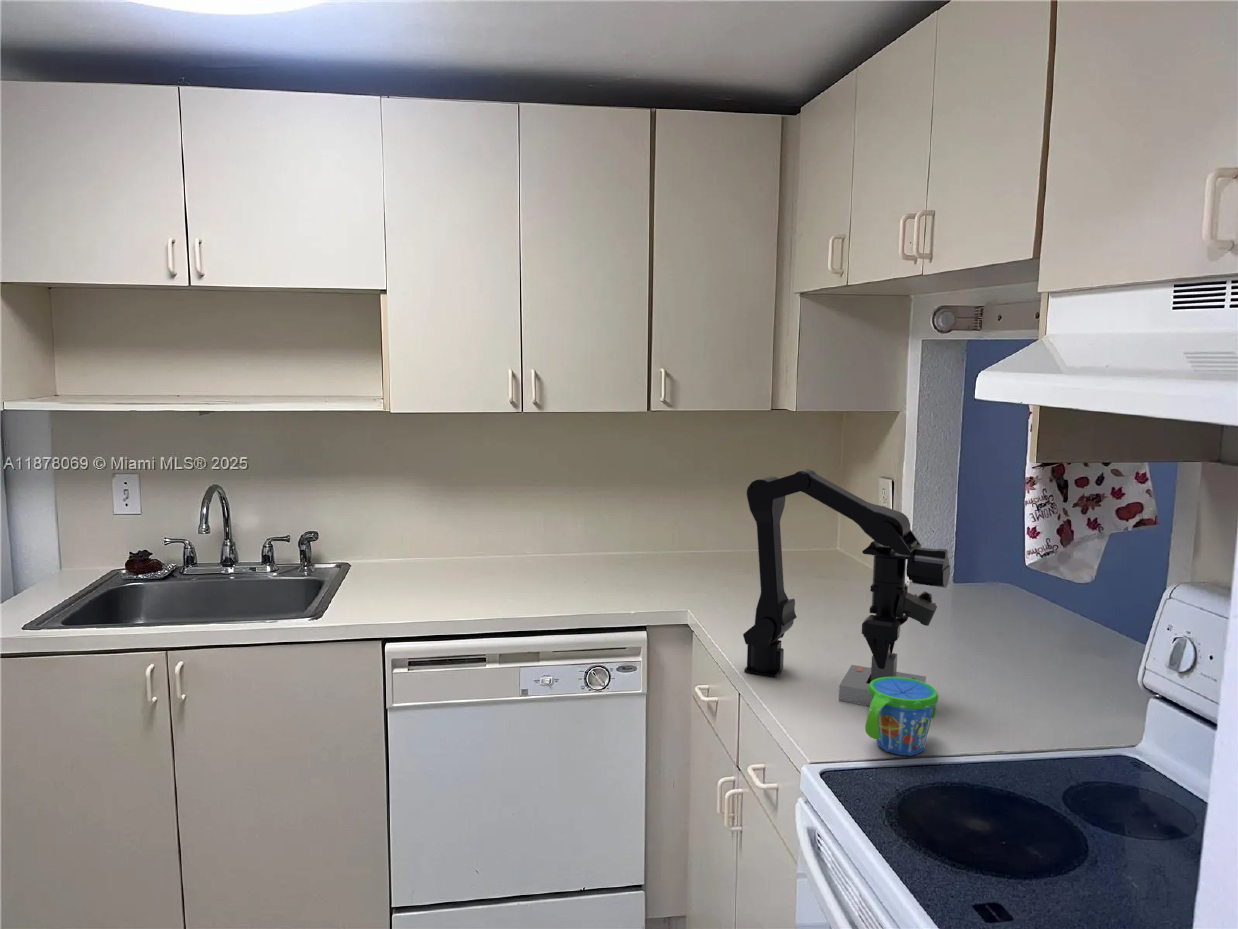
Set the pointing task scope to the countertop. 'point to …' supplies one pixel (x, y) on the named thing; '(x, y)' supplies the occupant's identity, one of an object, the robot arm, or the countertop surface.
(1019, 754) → the countertop surface
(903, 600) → the robot arm
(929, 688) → the snack cup
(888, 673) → the plug
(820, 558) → the countertop surface
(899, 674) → the socket plate
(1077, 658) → the countertop surface
